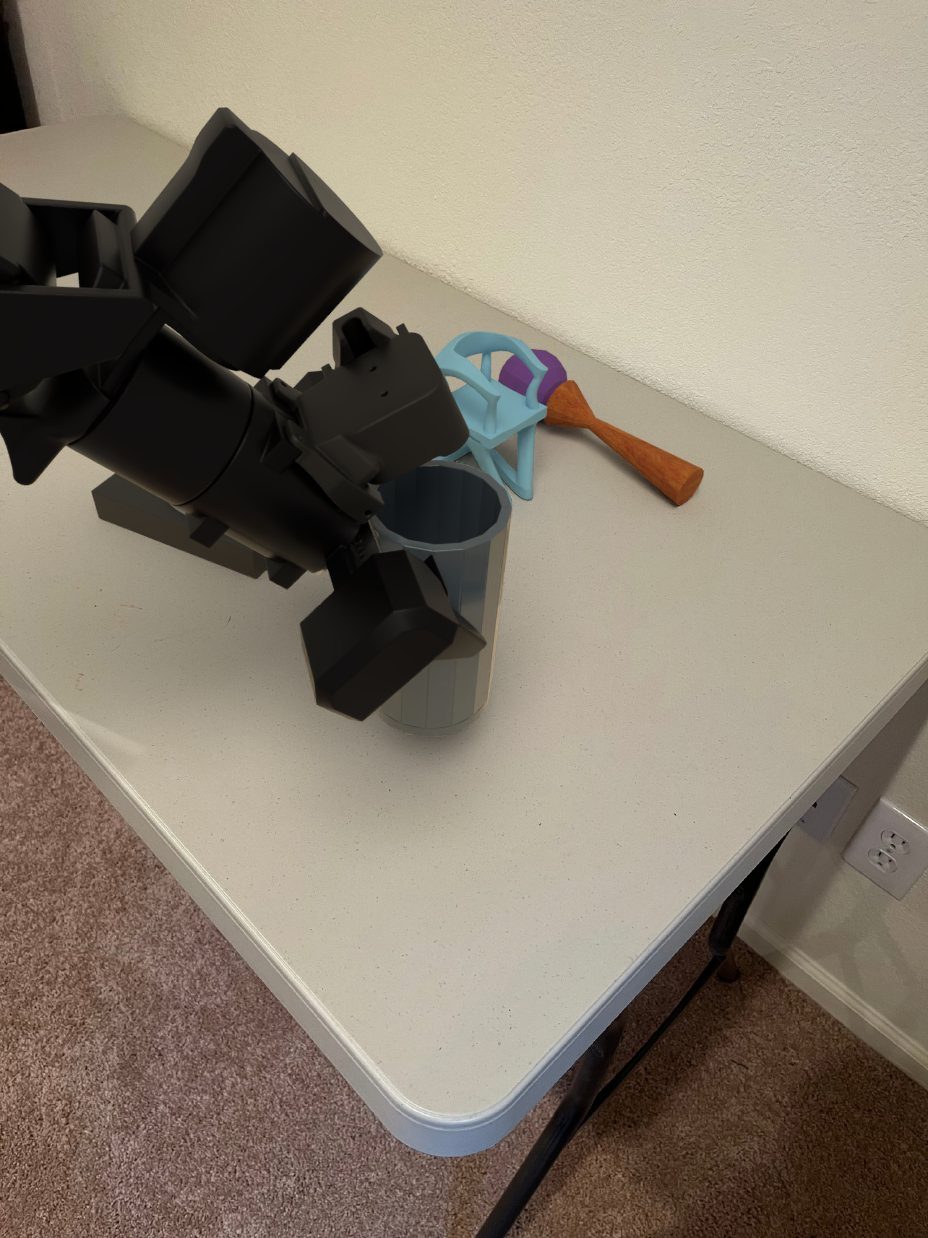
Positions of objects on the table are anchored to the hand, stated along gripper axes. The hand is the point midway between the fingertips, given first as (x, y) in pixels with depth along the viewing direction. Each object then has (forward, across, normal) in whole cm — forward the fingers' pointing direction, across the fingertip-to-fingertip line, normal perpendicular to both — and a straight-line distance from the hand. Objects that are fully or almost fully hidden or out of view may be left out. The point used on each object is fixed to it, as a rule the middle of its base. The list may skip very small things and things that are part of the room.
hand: (458, 599), depth 47 cm
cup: (+4, 0, +6) cm, 7 cm away
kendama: (+22, +26, -6) cm, 35 cm away
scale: (+1, +26, +15) cm, 30 cm away
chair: (+15, +24, +1) cm, 28 cm away
